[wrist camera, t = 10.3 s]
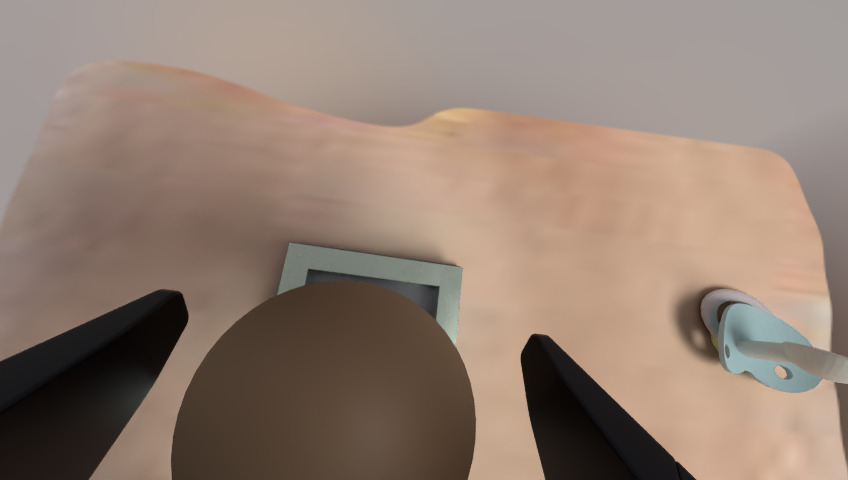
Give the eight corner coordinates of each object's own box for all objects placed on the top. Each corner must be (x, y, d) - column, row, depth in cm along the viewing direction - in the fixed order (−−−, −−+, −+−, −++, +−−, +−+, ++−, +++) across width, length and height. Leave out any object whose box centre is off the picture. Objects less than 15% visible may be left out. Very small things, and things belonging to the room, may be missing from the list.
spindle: (362, 415, 16) (320, 694, 4) (297, 346, 16) (99, 440, 5) (428, 343, 17) (529, 416, 6) (367, 280, 18) (344, 227, 6)
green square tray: (442, 446, 17) (451, 464, 15) (251, 434, 16) (233, 452, 14) (458, 267, 19) (468, 263, 17) (294, 244, 18) (284, 236, 16)
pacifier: (689, 276, 22) (684, 360, 20) (807, 260, 16) (814, 377, 14) (775, 309, 23) (776, 394, 21) (919, 306, 17) (938, 424, 15)
